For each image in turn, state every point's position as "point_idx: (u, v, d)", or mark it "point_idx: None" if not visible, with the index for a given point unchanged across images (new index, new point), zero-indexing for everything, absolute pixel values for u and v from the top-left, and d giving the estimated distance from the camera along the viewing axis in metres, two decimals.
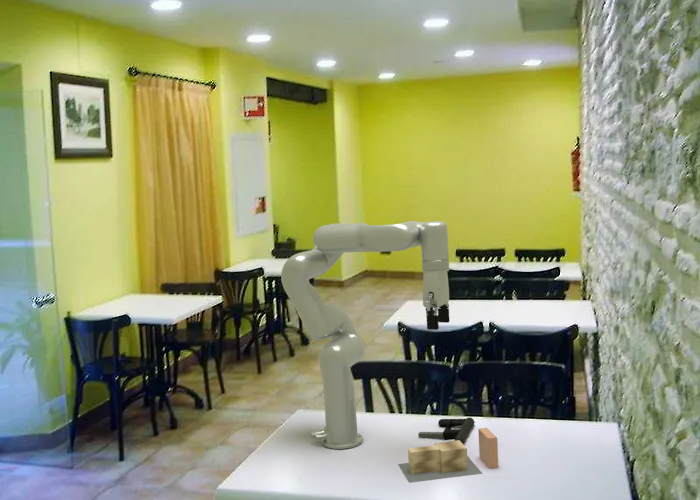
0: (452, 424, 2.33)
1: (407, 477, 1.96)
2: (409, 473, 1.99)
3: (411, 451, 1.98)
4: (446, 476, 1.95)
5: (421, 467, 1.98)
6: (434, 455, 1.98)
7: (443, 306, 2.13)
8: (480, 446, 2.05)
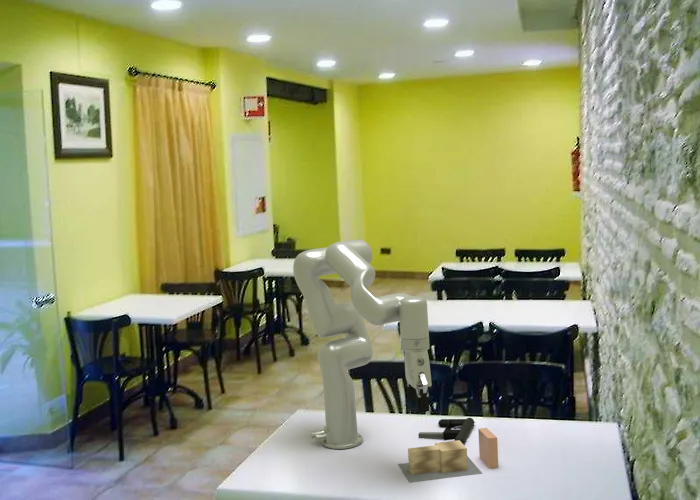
0: (452, 424, 2.33)
1: (407, 477, 1.96)
2: (409, 473, 1.99)
3: (411, 451, 1.98)
4: (446, 476, 1.95)
5: (421, 467, 1.98)
6: (434, 455, 1.98)
7: None
8: (480, 446, 2.05)
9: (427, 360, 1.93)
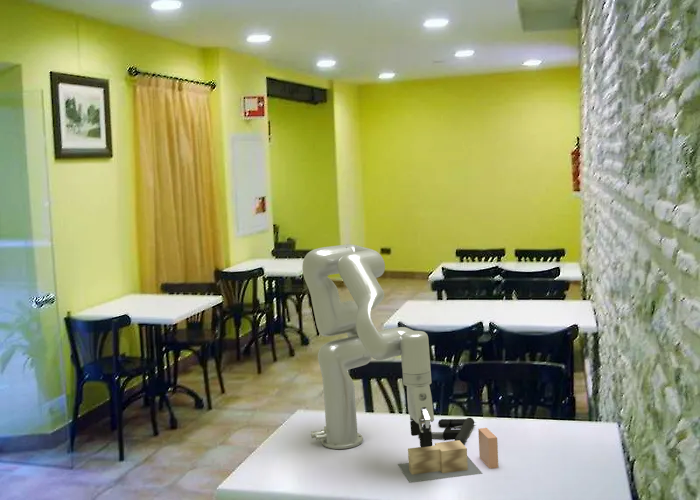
0: (452, 424, 2.33)
1: (407, 477, 1.96)
2: (409, 473, 1.99)
3: (411, 451, 1.98)
4: (446, 476, 1.95)
5: (421, 467, 1.98)
6: (434, 455, 1.98)
7: None
8: (480, 446, 2.05)
9: (429, 395, 1.93)
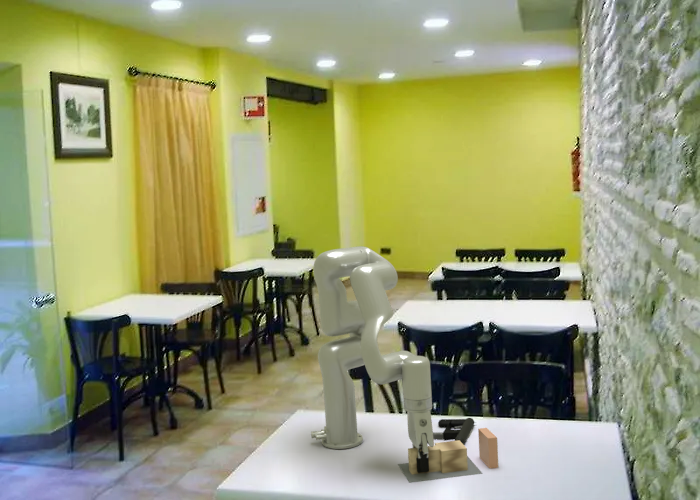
0: (452, 424, 2.33)
1: (407, 477, 1.96)
2: (409, 473, 1.99)
3: (411, 451, 1.98)
4: (446, 476, 1.95)
5: None
6: (434, 455, 1.98)
7: None
8: (480, 446, 2.05)
9: (430, 421, 1.94)
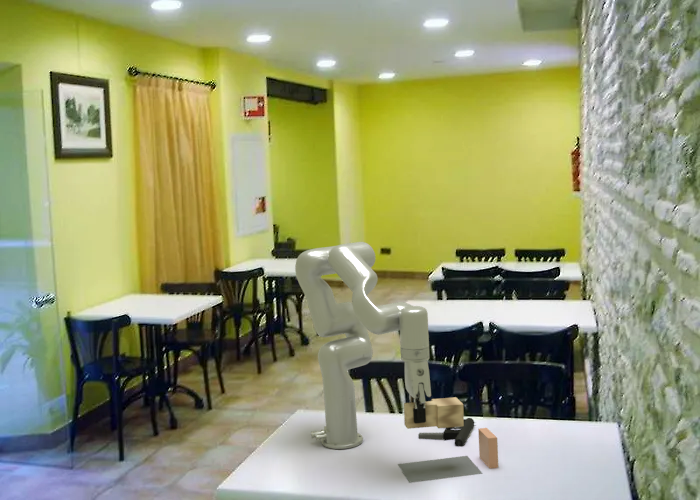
0: None
1: (407, 477, 1.96)
2: (409, 473, 1.99)
3: (407, 405, 1.97)
4: (446, 476, 1.95)
5: None
6: (430, 410, 1.97)
7: None
8: (480, 446, 2.05)
9: (427, 370, 1.93)
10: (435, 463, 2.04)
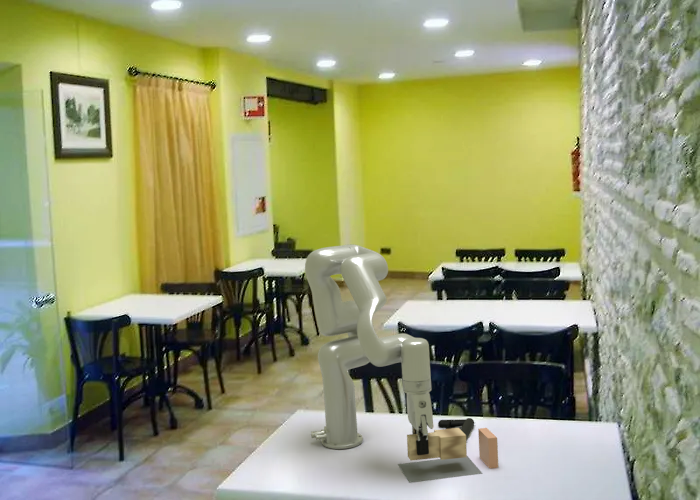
0: (452, 425, 2.33)
1: (407, 477, 1.96)
2: (409, 473, 1.99)
3: (410, 437, 1.97)
4: (446, 476, 1.95)
5: None
6: (433, 441, 1.98)
7: None
8: (480, 446, 2.05)
9: (429, 402, 1.94)
10: (435, 463, 2.04)
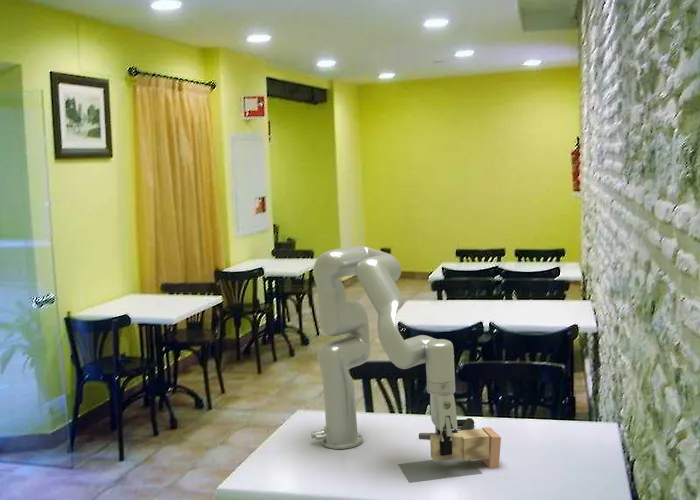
0: None
1: (407, 477, 1.96)
2: (409, 473, 1.99)
3: (434, 438, 1.99)
4: (446, 476, 1.95)
5: None
6: (456, 442, 1.99)
7: None
8: None
9: (453, 404, 1.95)
10: (435, 463, 2.04)
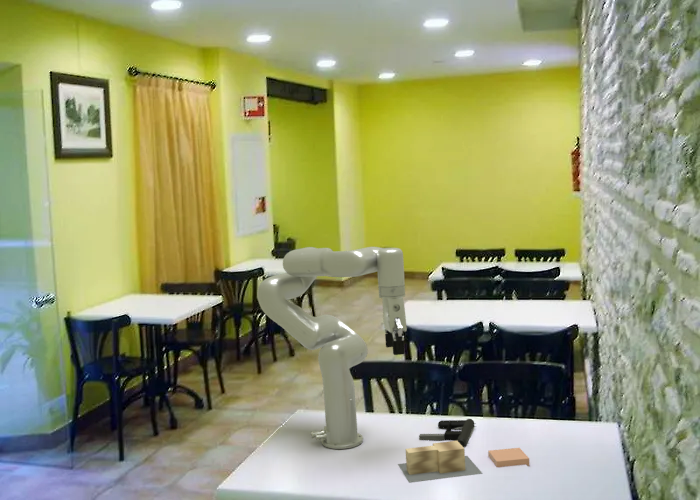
0: (452, 426, 2.32)
1: (407, 477, 1.96)
2: None
3: (409, 451, 1.98)
4: (446, 476, 1.95)
5: (419, 467, 1.98)
6: (432, 455, 1.98)
7: None
8: (504, 450, 2.06)
9: (402, 306, 2.07)
10: None
